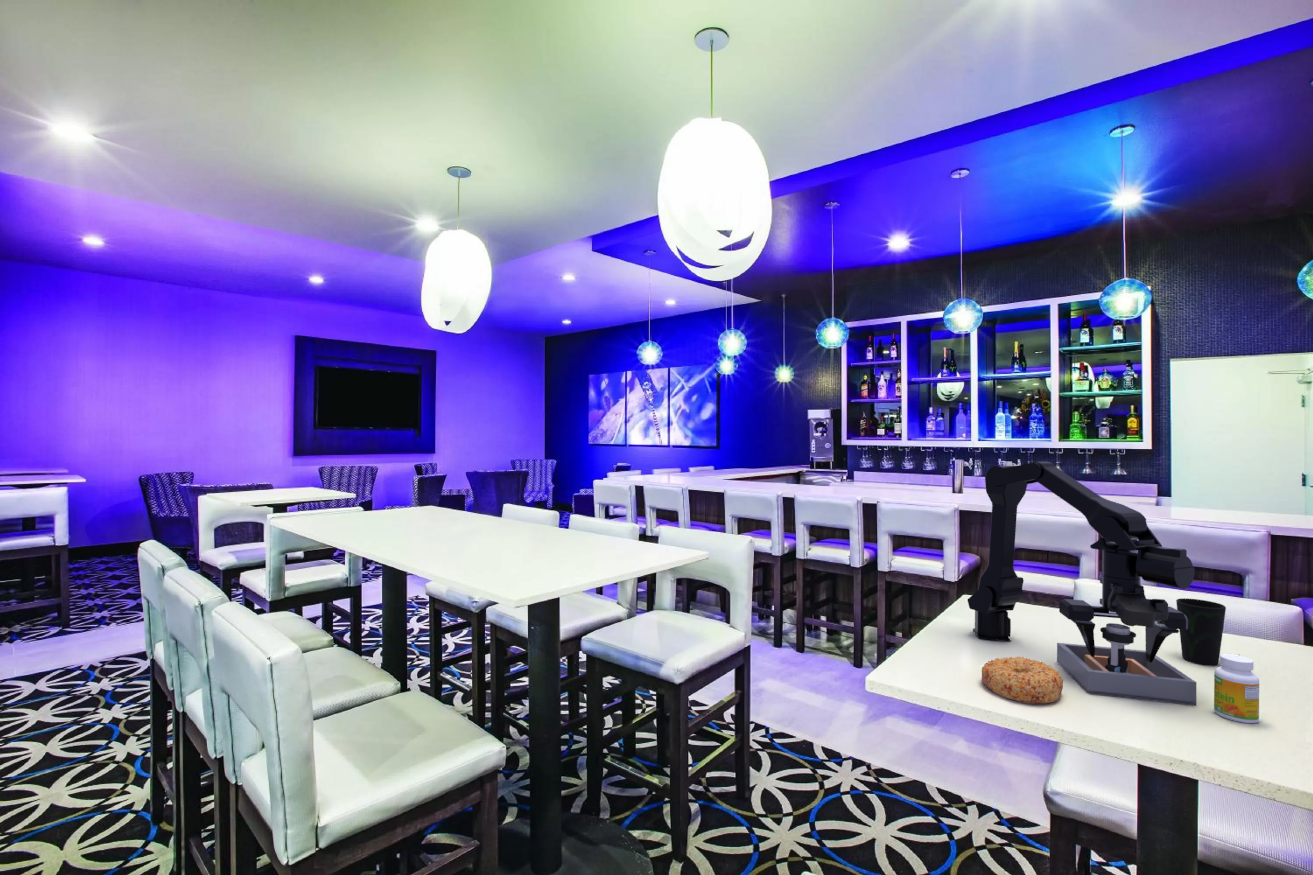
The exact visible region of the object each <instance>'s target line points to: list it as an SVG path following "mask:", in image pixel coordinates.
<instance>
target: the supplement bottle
mask: <svg viewBox="0 0 1313 875" xmlns="http://www.w3.org/2000/svg"><path fill="white" fill-rule="evenodd" d="M1219 664H1220V665H1221V666H1216V667H1215V669H1214V672H1213V676H1214V677H1213V678H1214V680H1213V682H1214V683H1213V684H1214V686H1213V710H1214V713H1215V714H1217V715H1218V716H1221V717H1222V718H1225V719H1227V720H1229V721H1230V720H1231V721H1234V722H1237V723H1242V724H1256V723H1258V722H1259V721H1260V678H1259V677H1258V675H1257V674H1255V673H1254V672H1252V671H1253V670H1254V667H1255V666H1254V660H1253V659H1251V658H1249V657H1246V656H1243V655H1240V654H1239V655H1237V654H1232V653H1220V656H1219Z"/></svg>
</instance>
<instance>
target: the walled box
mask: <svg viewBox="0 0 1313 875" xmlns="http://www.w3.org/2000/svg"><path fill="white" fill-rule="evenodd" d="M1110 653H1111V646H1110V647H1109V646H1098V645H1095V655H1094V657H1091V656H1090V654H1089V652H1088V649H1087V647H1086V644H1076V643H1067V642H1066V643H1064V642H1057V643H1056V663H1057V664H1058V665H1059V666H1060V667H1061V668H1062V669H1063V670H1064V671H1065V672H1066V673H1067V674H1068V675H1069V676H1070V677H1071V678H1072V679H1073V680H1074V681H1075V682H1076V683H1077V684H1078V685H1079V686H1080V687H1081V688H1082V689H1083V690H1084V691H1085V692H1086V693H1087V694H1088V695H1097V696H1098V695H1099V696H1108V697H1115V698H1124V699H1125V698H1126V699H1135V700H1144V701H1152V702H1162V703H1171V704H1177V705H1178V704H1179V705H1180V704H1181V705H1189V706H1197V682H1196V681H1195V680H1193V679H1192V678H1191V677H1189V676H1188V675H1187V674H1185V673H1183V672H1182V671H1181V670H1179V669H1177V668H1176V667H1175V666H1174V665H1172V664H1170V663H1168V662H1167V661H1165V660H1164V659H1162V658H1161V657H1159V656H1158V655H1156V656H1155V658H1154V660H1153V662H1152V663H1150V662H1148V661H1147V657H1146V650H1142V649H1130V648H1124V654H1125V655H1126V661H1128V673H1118V672H1109V671H1108V670H1107V669H1106V668H1105V665H1107V664H1108V657H1110Z"/></svg>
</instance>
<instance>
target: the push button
mask: <svg viewBox="0 0 1313 875" xmlns="http://www.w3.org/2000/svg"><path fill="white" fill-rule="evenodd" d="M1099 630H1100V632H1101V634H1102V636H1101V637H1102V639H1104V640H1106V642H1108V643H1110V648H1111V653H1110V657H1108V664H1107V665H1105V668H1106V669H1107V670H1108V671H1109V672H1118V673H1128V661H1126V655H1125V654H1124V649H1125V646H1129V645H1130V644H1134V643H1135V642H1134V641H1135V639H1134V638H1136V637H1137V634H1136V632H1133V631H1131V626H1127V625H1125V624H1121V623H1111V622H1109V623H1106V625H1105V627H1104V626H1102V627H1100V629H1099Z"/></svg>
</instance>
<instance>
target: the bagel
mask: <svg viewBox="0 0 1313 875" xmlns="http://www.w3.org/2000/svg"><path fill="white" fill-rule="evenodd" d="M1062 677H1063V676H1062V674H1060V673H1059V671H1058V670H1056V669H1055V668H1054V667H1053V666H1051V665H1049V664H1047V663H1046V662H1043V661H1042V660H1041V661H1040V660H1037V659H1031V658H1028V657H1024V656H1022V657H1021V656H1015V657H1012V656H1011V657H1003V658H1002V657H1001V658H998V657H996V658H995V659H991V660H988V661H987V662H986V663H985V664H984V665H983V666H982V667H981V680H982V682H983V683H984V685H985V686H986V687H987V688H988V689H989V690H990V691H992V692H993V693H995V694H997V695H999V696H1001V697H1003V698H1006V699H1009V700H1013V701H1016V702H1020V703H1025V704H1029V705H1032V704H1033V705H1034V704H1036V705H1038V704H1039V705H1040V704H1043V705H1044V704H1050V703H1053V702H1057V701H1058V700H1059V699H1060V698H1061V695H1062V691H1063V689H1064V679H1062Z"/></svg>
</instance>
